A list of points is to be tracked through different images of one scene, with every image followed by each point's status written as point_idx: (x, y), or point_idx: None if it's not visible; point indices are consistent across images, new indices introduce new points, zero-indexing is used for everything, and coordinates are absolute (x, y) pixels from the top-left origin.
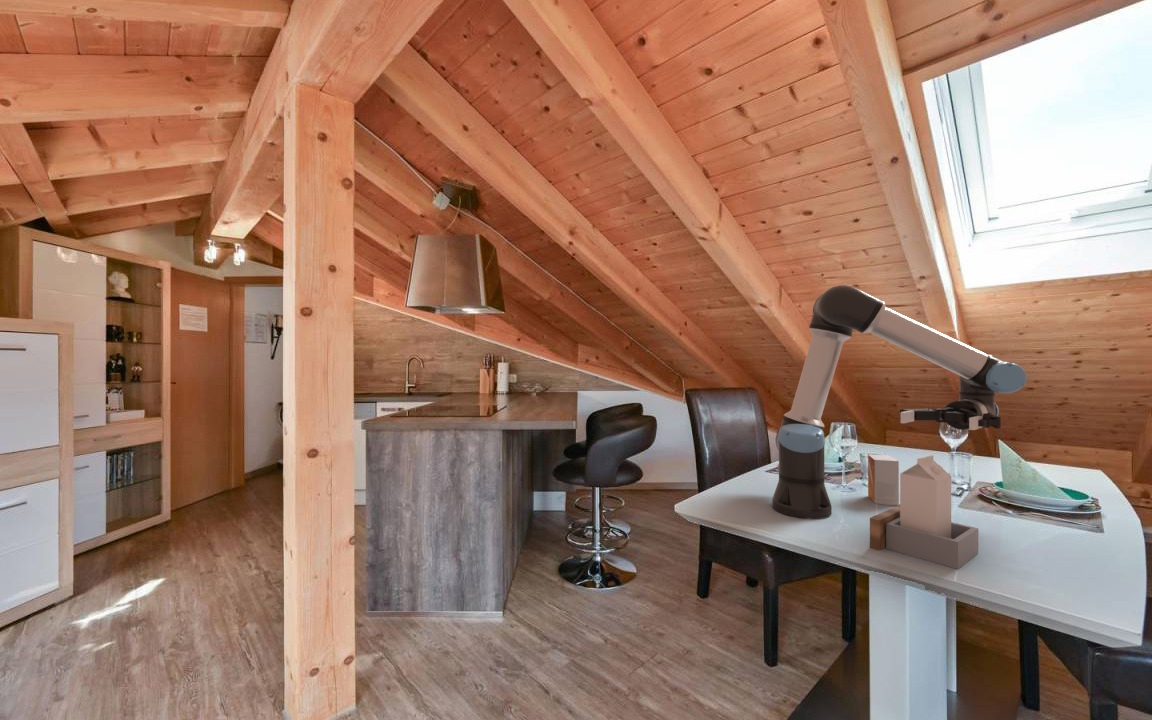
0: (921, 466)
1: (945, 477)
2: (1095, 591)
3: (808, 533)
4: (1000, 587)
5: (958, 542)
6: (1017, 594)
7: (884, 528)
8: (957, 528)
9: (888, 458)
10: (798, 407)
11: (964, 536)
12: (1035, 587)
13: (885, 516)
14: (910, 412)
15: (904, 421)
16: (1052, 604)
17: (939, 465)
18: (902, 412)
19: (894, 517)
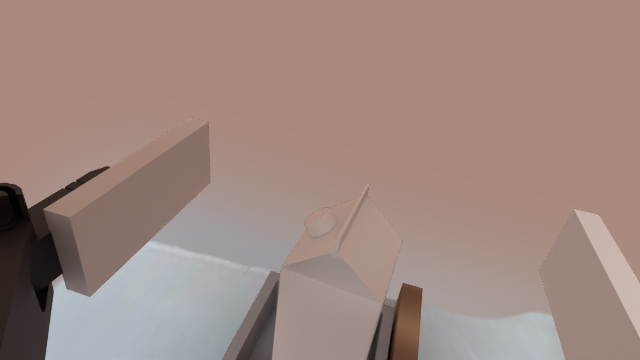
0: (356, 199)
1: (297, 243)
2: (61, 332)
3: (526, 357)
4: (220, 279)
5: (270, 273)
6: (204, 267)
7: (395, 317)
8: None
9: None
10: None
11: (254, 305)
12: (164, 301)
13: (402, 312)
14: (614, 309)
15: (545, 265)
16: (170, 259)
17: (316, 219)
18: (584, 212)
19: (392, 353)
